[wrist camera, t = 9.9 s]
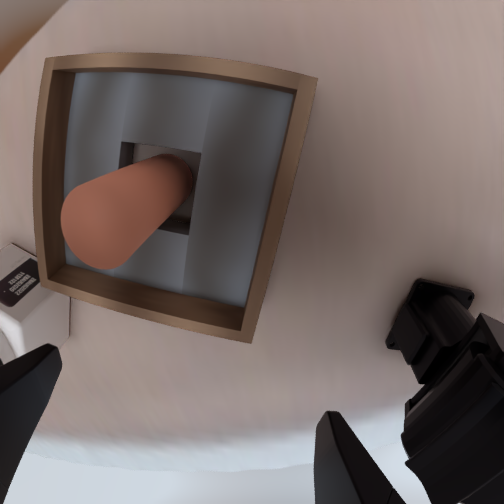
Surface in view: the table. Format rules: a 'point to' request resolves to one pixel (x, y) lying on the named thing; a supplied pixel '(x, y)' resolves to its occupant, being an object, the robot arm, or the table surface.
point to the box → (207, 187)
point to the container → (28, 307)
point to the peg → (123, 209)
